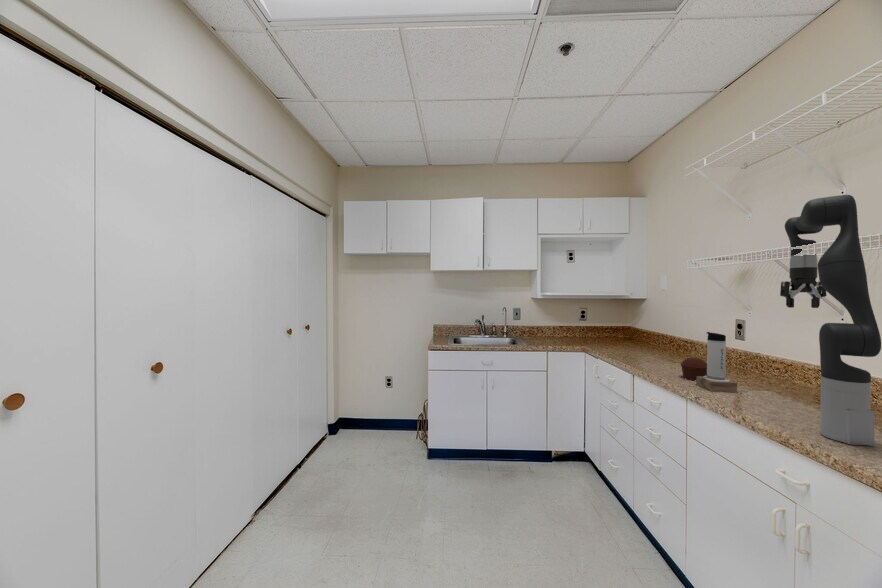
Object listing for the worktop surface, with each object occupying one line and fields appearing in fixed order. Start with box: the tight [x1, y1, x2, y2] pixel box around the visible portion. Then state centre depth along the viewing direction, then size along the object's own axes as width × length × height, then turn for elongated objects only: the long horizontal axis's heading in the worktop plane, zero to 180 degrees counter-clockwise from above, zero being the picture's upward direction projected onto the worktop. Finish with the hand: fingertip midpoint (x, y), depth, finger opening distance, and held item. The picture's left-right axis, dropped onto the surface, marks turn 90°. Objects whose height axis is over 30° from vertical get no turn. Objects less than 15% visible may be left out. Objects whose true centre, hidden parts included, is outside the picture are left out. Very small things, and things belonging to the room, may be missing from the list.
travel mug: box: [706, 331, 727, 380], centre depth 147 cm, size 6×7×20 cm
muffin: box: [680, 357, 707, 381], centre depth 164 cm, size 12×11×10 cm
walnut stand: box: [695, 376, 738, 393], centre depth 147 cm, size 10×10×4 cm
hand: (802, 307), depth 134 cm, fingers open, 8 cm apart
